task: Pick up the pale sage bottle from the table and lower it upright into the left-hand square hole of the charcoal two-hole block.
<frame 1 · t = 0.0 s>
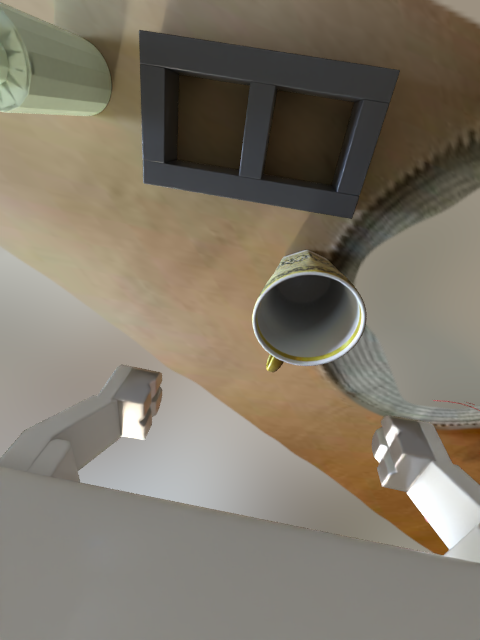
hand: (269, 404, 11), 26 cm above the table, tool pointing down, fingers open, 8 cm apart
ceramic cup: (296, 287, 37), on the table
bottle: (81, 78, 29), on the table
holder: (259, 132, 29), on the table
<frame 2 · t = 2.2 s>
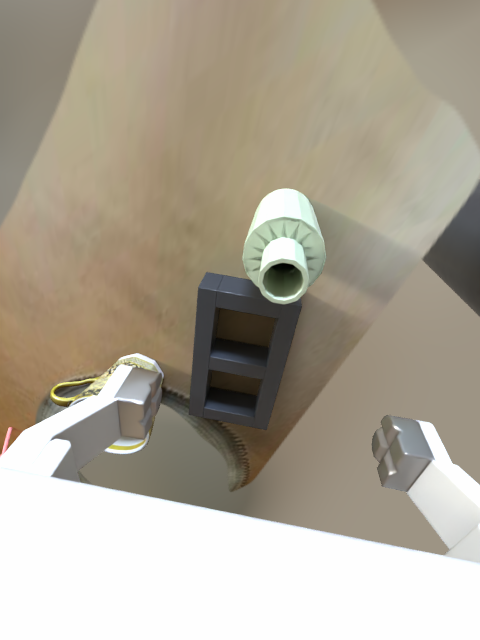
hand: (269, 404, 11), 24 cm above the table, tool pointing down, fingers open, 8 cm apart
ceramic cup: (131, 366, 45), on the table
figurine: (33, 455, 61), on the table
bottle: (284, 219, 32), on the table
holder: (241, 348, 41), on the table
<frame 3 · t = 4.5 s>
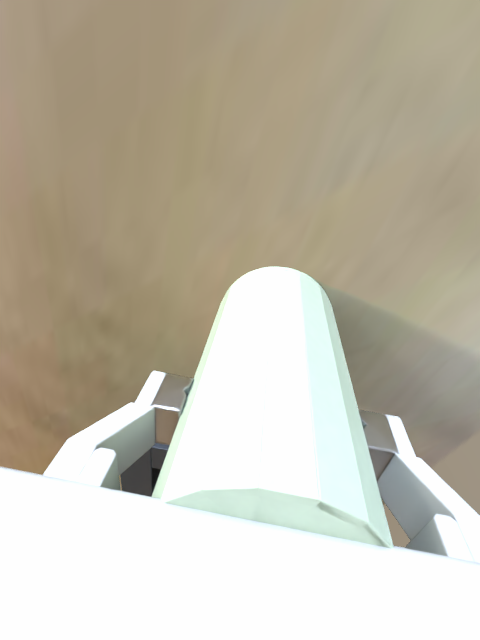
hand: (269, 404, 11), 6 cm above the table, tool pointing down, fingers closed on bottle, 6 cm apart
bottle: (274, 317, 17), on the table, touching gripper
holder: (210, 486, 26), on the table
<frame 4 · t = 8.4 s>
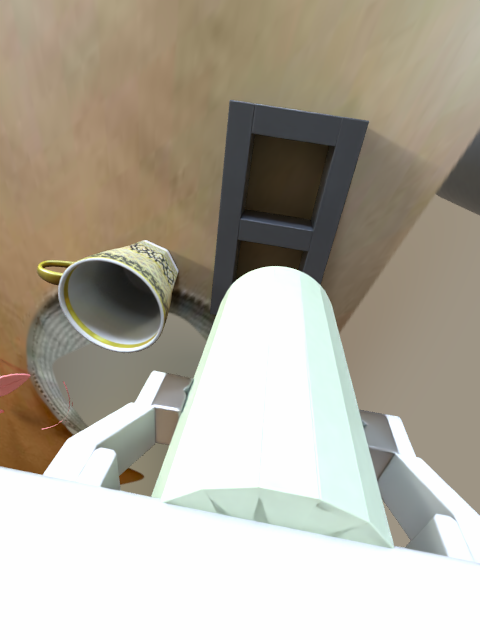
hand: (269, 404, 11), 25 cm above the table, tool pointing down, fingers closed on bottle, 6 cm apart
ceramic cup: (139, 261, 37), on the table
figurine: (25, 396, 53), on the table
bottle: (275, 317, 17), point 19 cm above the table, touching gripper
holder: (275, 224, 33), on the table
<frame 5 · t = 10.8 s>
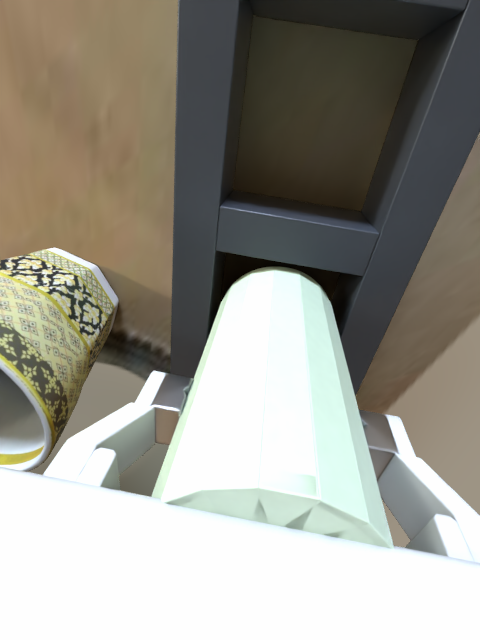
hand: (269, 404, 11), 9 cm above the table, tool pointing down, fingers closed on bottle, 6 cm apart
ceramic cup: (52, 284, 21), on the table
bottle: (275, 317, 17), point 3 cm above the table, touching gripper
holder: (292, 219, 17), on the table
when the fingers open (6 cm above the table, at t = 12.3 s): bottle stays where it is, resting in holder.
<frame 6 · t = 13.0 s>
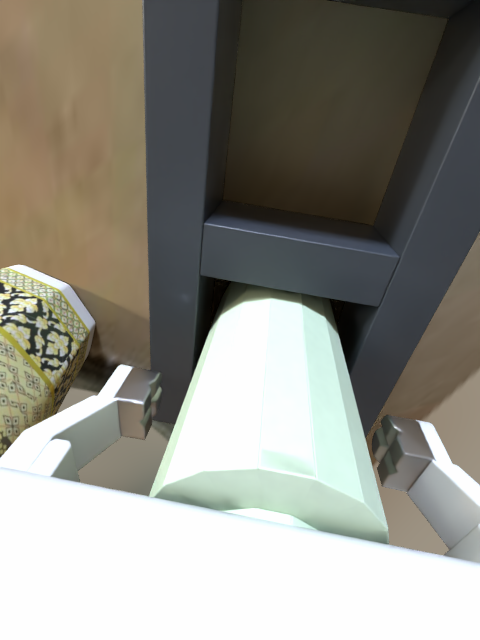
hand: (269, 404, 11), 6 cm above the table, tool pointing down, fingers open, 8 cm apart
ceramic cup: (20, 304, 19), on the table
bottle: (274, 313, 17), resting in holder
holder: (292, 234, 15), on the table
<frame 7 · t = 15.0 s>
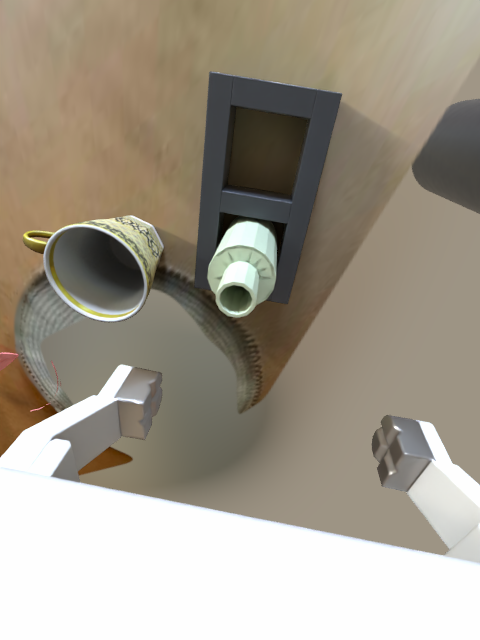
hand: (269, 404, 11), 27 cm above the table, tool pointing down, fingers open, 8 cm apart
ceramic cup: (125, 238, 38), on the table
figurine: (13, 377, 53), on the table
bottle: (251, 238, 36), resting in holder
holder: (257, 199, 34), on the table
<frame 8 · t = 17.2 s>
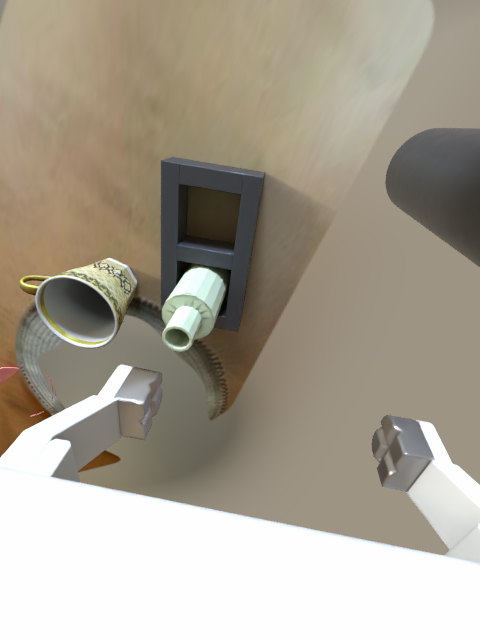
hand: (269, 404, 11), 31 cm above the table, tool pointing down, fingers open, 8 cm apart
ceramic cup: (106, 274, 46), on the table
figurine: (15, 386, 61), on the table
bottle: (208, 276, 44), resting in holder
holder: (211, 246, 41), on the table
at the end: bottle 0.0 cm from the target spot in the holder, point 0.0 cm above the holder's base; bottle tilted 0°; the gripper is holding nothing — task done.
